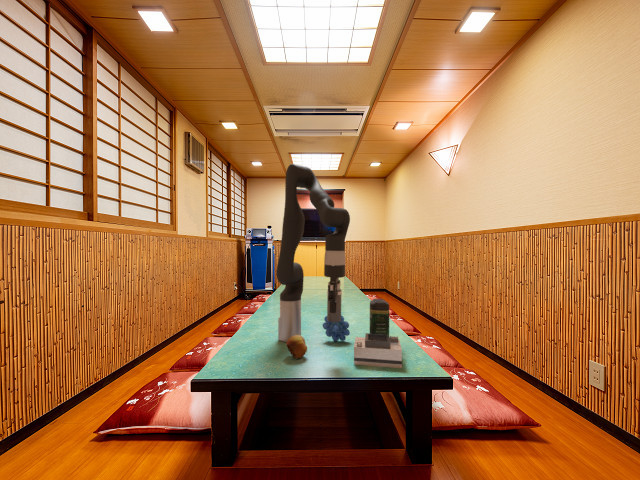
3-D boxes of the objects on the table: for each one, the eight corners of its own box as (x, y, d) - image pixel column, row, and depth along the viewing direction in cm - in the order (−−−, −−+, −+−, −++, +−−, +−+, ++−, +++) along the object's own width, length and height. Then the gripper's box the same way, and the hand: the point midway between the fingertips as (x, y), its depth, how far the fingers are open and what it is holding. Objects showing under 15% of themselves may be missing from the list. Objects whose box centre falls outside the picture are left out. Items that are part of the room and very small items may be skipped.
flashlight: (325, 321, 101) (326, 289, 101) (327, 317, 107) (328, 287, 107) (340, 322, 100) (341, 290, 100) (342, 318, 106) (342, 287, 106)
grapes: (321, 344, 120) (321, 315, 120) (323, 338, 126) (323, 311, 126) (349, 345, 118) (349, 315, 119) (349, 339, 125) (349, 312, 125)
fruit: (300, 363, 101) (300, 340, 101) (281, 358, 105) (281, 336, 105) (311, 356, 107) (311, 334, 107) (293, 351, 111) (293, 331, 111)
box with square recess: (353, 364, 100) (353, 341, 100) (355, 352, 110) (355, 331, 110) (401, 368, 97) (401, 344, 97) (399, 355, 107) (399, 334, 108)
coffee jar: (391, 349, 114) (390, 302, 114) (370, 348, 115) (370, 301, 115) (387, 341, 124) (387, 297, 124) (368, 340, 124) (368, 297, 124)
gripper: (327, 261, 111) (327, 305, 111) (320, 264, 97) (319, 315, 97) (347, 262, 110) (346, 307, 110) (342, 265, 96) (342, 316, 96)
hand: (334, 310), depth 103 cm, fingers closed on flashlight, 5 cm apart
